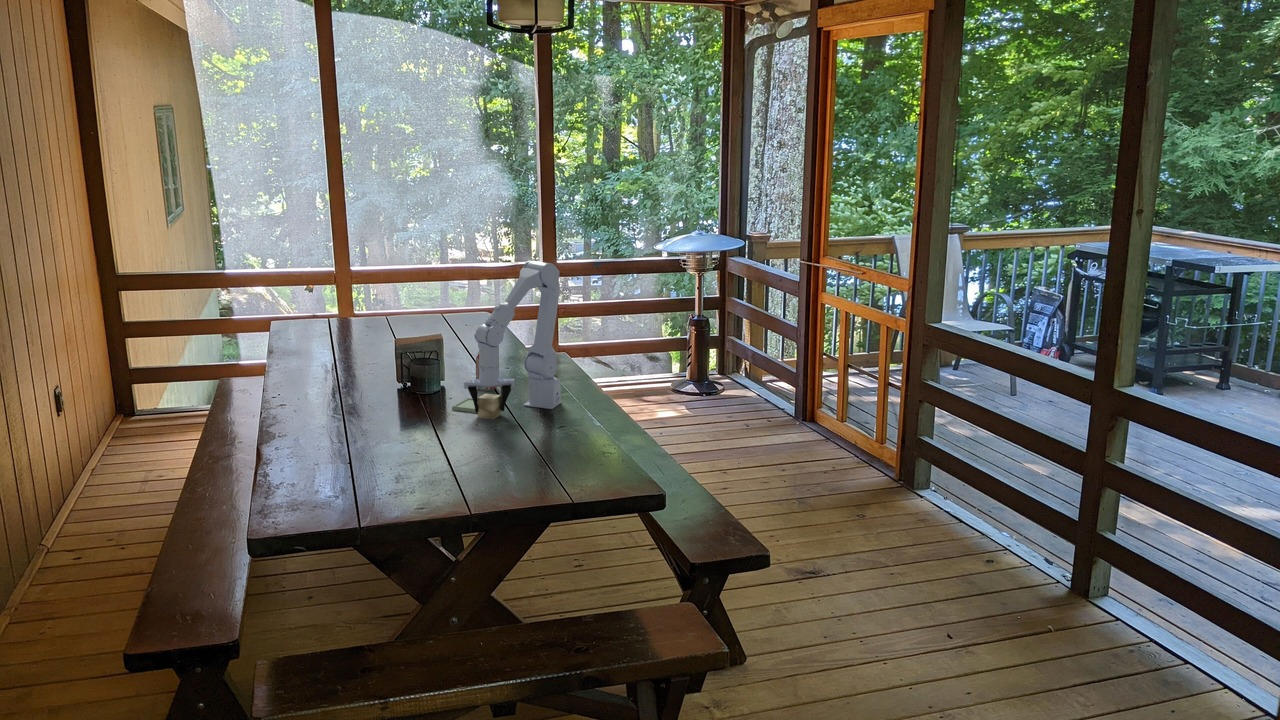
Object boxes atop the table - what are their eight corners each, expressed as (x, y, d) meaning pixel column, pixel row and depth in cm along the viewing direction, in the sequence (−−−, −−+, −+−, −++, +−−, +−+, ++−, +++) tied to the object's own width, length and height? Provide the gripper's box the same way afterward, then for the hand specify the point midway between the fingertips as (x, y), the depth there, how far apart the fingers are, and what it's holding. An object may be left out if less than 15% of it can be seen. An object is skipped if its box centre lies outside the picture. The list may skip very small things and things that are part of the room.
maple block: (501, 414, 274) (500, 395, 273) (493, 419, 270) (493, 399, 268) (485, 412, 276) (485, 393, 274) (478, 417, 271) (477, 397, 269)
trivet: (497, 404, 284) (497, 401, 284) (482, 413, 275) (482, 410, 274) (467, 401, 287) (467, 397, 287) (452, 409, 277) (452, 406, 277)
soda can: (493, 392, 298) (493, 356, 295) (472, 390, 299) (472, 354, 296) (501, 387, 304) (500, 351, 301) (480, 385, 306) (480, 349, 303)
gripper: (512, 361, 275) (512, 405, 278) (462, 363, 271) (463, 408, 274) (515, 367, 268) (515, 412, 271) (464, 369, 264) (465, 415, 267)
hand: (489, 410), depth 272 cm, fingers closed on maple block, 7 cm apart
